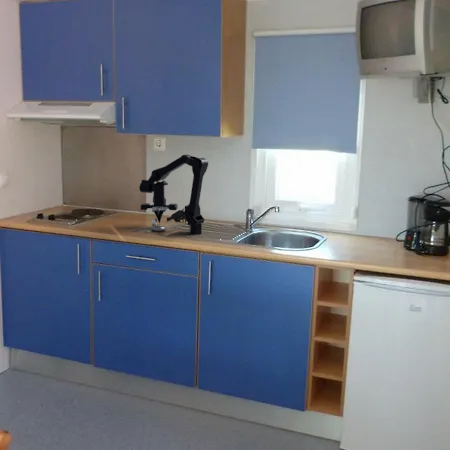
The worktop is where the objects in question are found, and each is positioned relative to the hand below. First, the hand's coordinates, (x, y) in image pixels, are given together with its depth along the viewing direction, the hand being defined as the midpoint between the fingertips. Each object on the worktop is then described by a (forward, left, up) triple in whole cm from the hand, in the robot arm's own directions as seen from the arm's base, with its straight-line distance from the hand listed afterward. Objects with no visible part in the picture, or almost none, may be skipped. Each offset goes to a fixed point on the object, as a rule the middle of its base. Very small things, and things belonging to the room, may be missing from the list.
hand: (159, 222), depth 284 cm
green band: (-5, +8, -4) cm, 10 cm away
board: (-4, +5, -4) cm, 8 cm away
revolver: (+12, -22, -5) cm, 25 cm away
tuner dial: (-4, +3, -3) cm, 6 cm away
